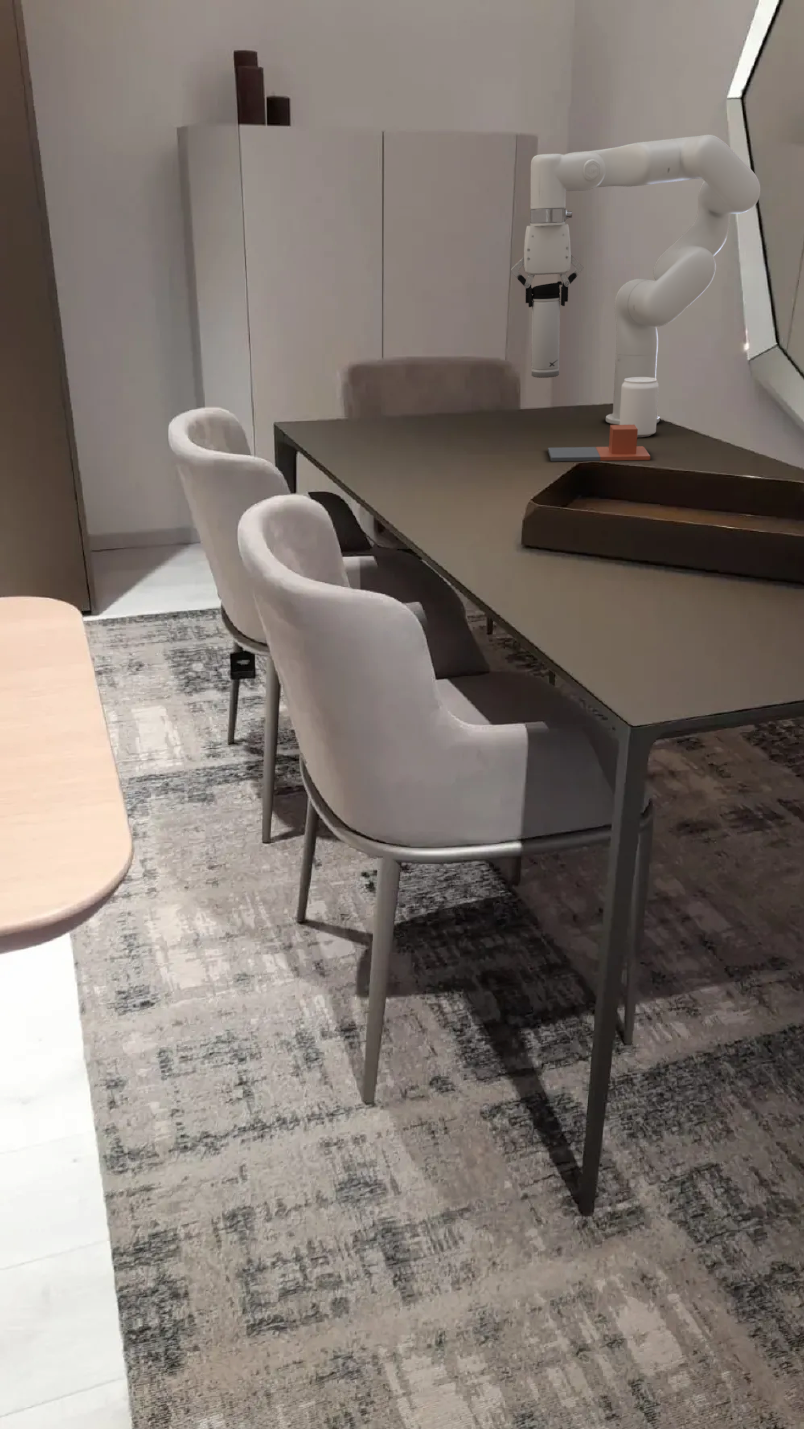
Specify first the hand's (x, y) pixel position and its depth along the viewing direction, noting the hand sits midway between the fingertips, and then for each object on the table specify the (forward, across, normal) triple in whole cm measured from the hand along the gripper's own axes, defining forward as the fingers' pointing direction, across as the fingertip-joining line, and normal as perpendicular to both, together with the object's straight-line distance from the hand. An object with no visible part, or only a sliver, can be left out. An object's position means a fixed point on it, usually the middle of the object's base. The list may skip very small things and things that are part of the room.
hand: (546, 305), depth 245 cm
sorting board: (+27, -9, +30) cm, 41 cm away
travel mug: (+15, 0, 0) cm, 15 cm away
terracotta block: (+26, -14, +30) cm, 43 cm away
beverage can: (+28, -20, +8) cm, 35 cm away
